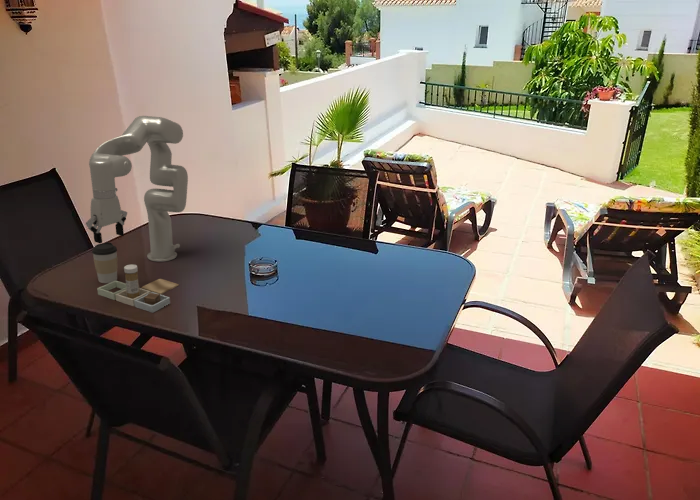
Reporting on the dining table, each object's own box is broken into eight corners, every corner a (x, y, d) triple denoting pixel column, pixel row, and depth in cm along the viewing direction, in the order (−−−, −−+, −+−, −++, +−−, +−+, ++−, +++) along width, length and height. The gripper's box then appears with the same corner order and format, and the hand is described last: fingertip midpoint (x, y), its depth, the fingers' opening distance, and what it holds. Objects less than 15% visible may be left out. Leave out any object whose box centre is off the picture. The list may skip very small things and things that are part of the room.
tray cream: (134, 292, 201) (133, 286, 200) (150, 297, 197) (150, 291, 196) (116, 300, 193) (115, 294, 192) (133, 306, 190) (132, 299, 189)
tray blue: (152, 298, 197) (152, 291, 196) (170, 303, 194) (169, 297, 193) (135, 306, 190) (134, 300, 189) (152, 312, 186) (152, 306, 185)
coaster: (159, 279, 212) (159, 278, 212) (178, 285, 209) (178, 284, 208) (141, 288, 204) (141, 287, 204) (160, 294, 200) (160, 293, 200)
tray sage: (116, 286, 204) (115, 280, 203) (132, 291, 201) (131, 285, 200) (98, 294, 197) (97, 288, 196) (114, 300, 194) (113, 293, 193)
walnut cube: (150, 302, 194) (149, 292, 192) (160, 304, 193) (159, 294, 192) (144, 307, 190) (144, 297, 189) (154, 308, 190) (154, 298, 188)
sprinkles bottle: (140, 295, 198) (137, 263, 193) (140, 301, 194) (137, 268, 189) (127, 297, 196) (124, 264, 192) (127, 302, 193) (123, 269, 188)
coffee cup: (110, 285, 204) (107, 250, 199) (90, 282, 206) (86, 247, 201) (124, 276, 213) (121, 242, 207) (104, 273, 214) (101, 240, 209)
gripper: (116, 187, 194) (120, 230, 200) (76, 197, 179) (82, 243, 185) (131, 190, 191) (135, 234, 197) (91, 200, 176) (97, 247, 182)
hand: (109, 238), depth 191 cm, fingers open, 9 cm apart
